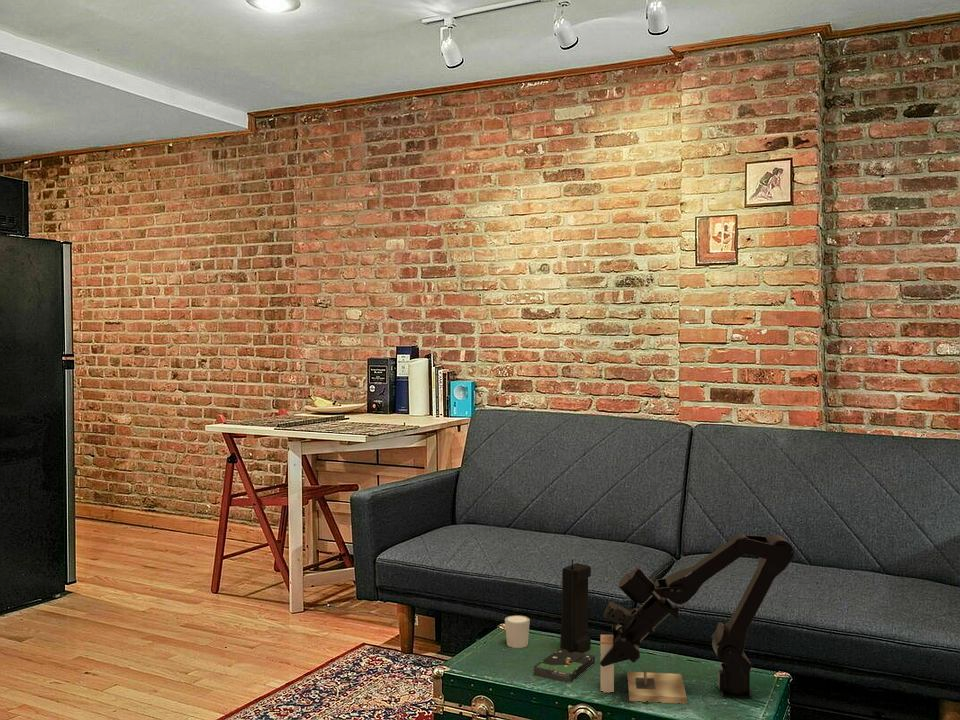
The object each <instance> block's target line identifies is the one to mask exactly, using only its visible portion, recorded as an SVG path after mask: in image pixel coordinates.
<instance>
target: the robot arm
mask: <svg viewBox="0 0 960 720" xmlns="http://www.w3.org/2000/svg"><path fill="white" fill-rule="evenodd" d="M744 555H750V556H752V557H758V561H757V568H756V570H754V573H753V575H752V577H751V579H750V581H749V583H748V585H747V587H746V589H745V590H744V593H743V594H742V595H741V599H740V600H739V602H738V604H737V605H736V607H735V609H734V612H733V614H732V616H731V618H730V619H729V620H728V621H726V622H725V623H723V622H721V621H718V624H717V626H716V629H715V631H714V632H713V633H712V634H711V635H710V636H711V638H712V641H711V645H712V648H713V651H714V652H715V654H716V657H717V658H718V659H719V661H720V669H719V670H717V671H718V677H717V678H718V679H717V680H718V681H717V682H718V689H719V691H720V692H721V694H722V697H725V698H745V699H746V698H748V699H751V698H752V693H751V691H750V690H751V687H750V686H751V683H750V681H751V669H752V667H753V665H752V663H751V661H750V660H749V658H748V657H747V655H746V654H745V651H744V650H745V647H746V641H747V636H748V630H749V628H750V626H751V625H752V623H753V621H754V618H755V616H756V615H757V613H758V611H759V610H760V607H761V606H762V603H763V601H764V599H765V597H766V596H767V594H768V592H769V590H770V588H771V586H772V584H773V583H774V580H775V579H776V578H777V577H778V576H779V575H780V574H781V573H783V572H784V571H785V570H786V569H787V567H788V566H789V565H790V563H791V562H792V561H793V559H794V556H795V551H794V547H793V546H792V544H791V543H790V542H789V541H787V540H786V539H785V538H784V537H783V536H781V535H779V534H771V535H768V536H764V535H754V534H753V535H751V534H750V535H749V534H743V533H737V534H735V535H733V536H732V537H731V539H729V540H728V541H727V542H725V543H724V544H722V545H721V546H719V547H718V548H717V549H715V550H714V551H712V552H711V553H709V554H708V555H707V556H705V557H704V558H703V559H701V560H700V561H699V562H698V561H697V563H695V564H693V565H692V566H690V567H686V568H683V569H682V568H681V569H680V570H678V571H675V572H673V573H672V574H669V575H668V576H667V577H666V578H665V577H664V578H659V579H658V578H656V579H651V578H650V577H648V576H647V575H646V573H645V572H644V571H643V569H641V568H640V567H639V566H637V567H636V568H635V569H632V570H631V571H629V572H627V573H626V574H625V575H624V576H622V578H621V579H620V580H619V582H618V584H617V587H618V588H619V590H621V592H623V593H624V595H626V596H627V597H628V598H629V599H630V600H631V602H632V603H633V604H639V605H641V606H639V608H637V607H635V608H634V607H633V608H632V609H631V610H629V609H627V608H625V607H623V606H621V605H619V604H618V603H615V602H614V601H610V600H609V601H608V603H607V605H606V607H605V609H604V610H603V618H604V619H606V620H607V621H611V622H613V623H614V624H612V625H611V626H612V627H611V628H612V629H611V635H614V637H613V646H612V648H611V649H610V650H609V651H608V653H607V654H606V655H605V657H604V658H603V659H602V661H601V660H600V662H599V664H600V666H601V665H602V666H607V665H610V664H614V665H615V664H616V663H620V662H624V661H630V662H632V663H633V664H635V663H636V662H637V661H638V660H640V659H641V656H640V655H641V654H640V653H641V651H640V646H641V645H642V640H644V638H646V637H647V636H648V635H652V634H654V633H655V628H657V626H658V625H660V624H661V623H662V622H663V621H664V620H665V619H666V618H667V617H668V616H669V615H671V616H672V617H674V619H675V620H679V618H680V617H679V611H680V607H679V605H684V604H686V603H688V602H689V601H690V600H691V599H692V598H693V597H694V596H695V595H696V594H697V593H698V591H699V589H700V588H701V587H702V586H703V585H704V584H705V583H706V581H709V580H710V579H711V578H712V577H714V576H715V575H717V574H718V573H719V572H721V571H722V570H724V569H725V568H726V567H728V566H729V565H731V564H732V563H735V561H736V560H738V559H740V557H742V556H744ZM615 624H616V625H615ZM599 656H600V657H601V652H600V653H599Z"/></svg>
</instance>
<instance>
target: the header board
mask: <svg viewBox="0 0 960 720" xmlns="http://www.w3.org/2000/svg"><path fill="white" fill-rule="evenodd" d="M626 673H627V675H626V677H627V679H626V680H628V681H627V688H628V689H627V691H629V692H628V700H629V702H637V701H641V702H642V701H643V703H645V702H646V701H648V702H646V703H657V702H661V703H660V704H662V703H664V704H677V703H680V704H681V703H682V705H687V703H688V701H687V700H688V699H687V694H686V693H687V692H686V689H685V685H684V681H683V677H682V676H683V675H682V674H681V673H670V672H669V673H667V672H648V671H647V669H646V668H643V672H642V671H626ZM680 704H679V705H680Z"/></svg>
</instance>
